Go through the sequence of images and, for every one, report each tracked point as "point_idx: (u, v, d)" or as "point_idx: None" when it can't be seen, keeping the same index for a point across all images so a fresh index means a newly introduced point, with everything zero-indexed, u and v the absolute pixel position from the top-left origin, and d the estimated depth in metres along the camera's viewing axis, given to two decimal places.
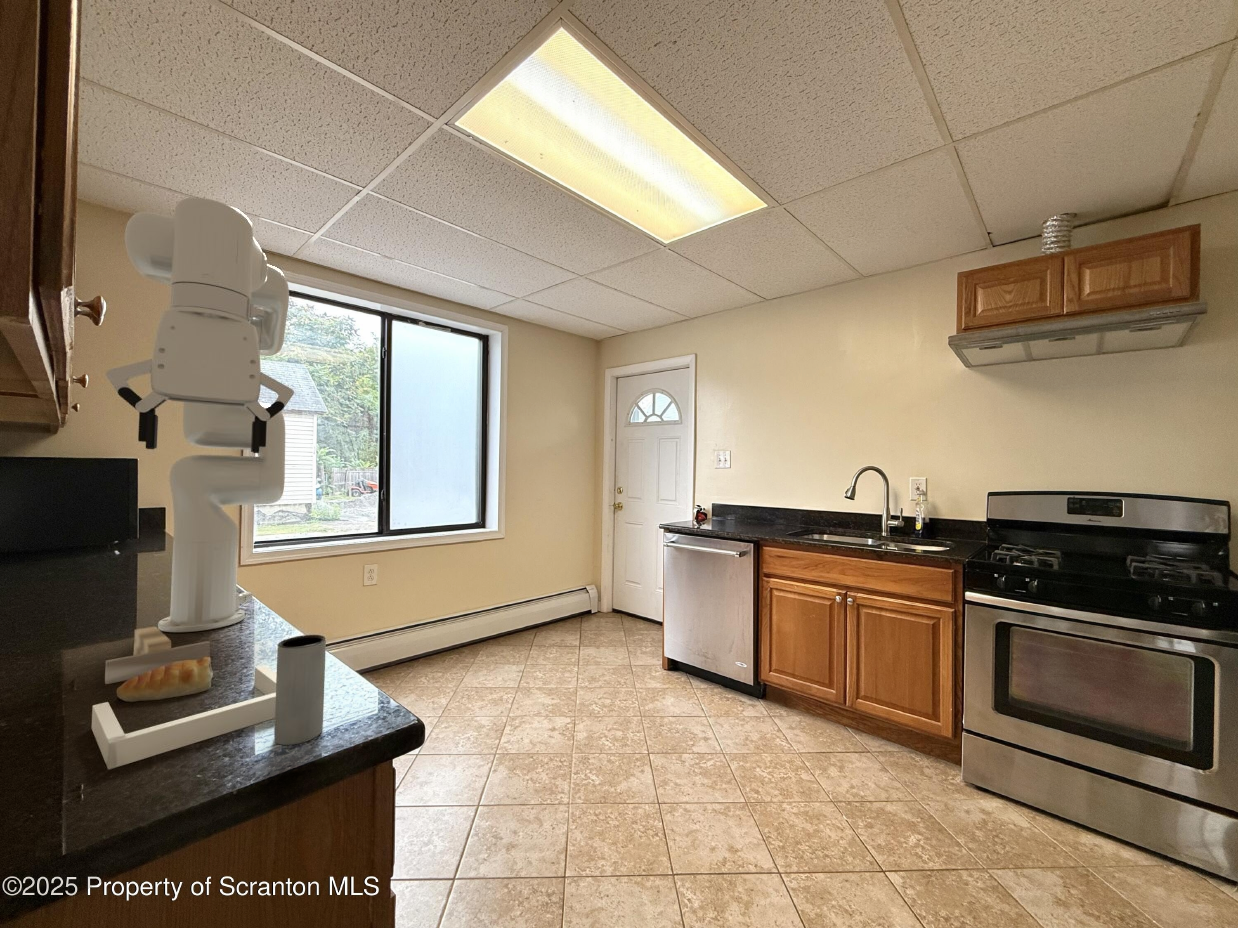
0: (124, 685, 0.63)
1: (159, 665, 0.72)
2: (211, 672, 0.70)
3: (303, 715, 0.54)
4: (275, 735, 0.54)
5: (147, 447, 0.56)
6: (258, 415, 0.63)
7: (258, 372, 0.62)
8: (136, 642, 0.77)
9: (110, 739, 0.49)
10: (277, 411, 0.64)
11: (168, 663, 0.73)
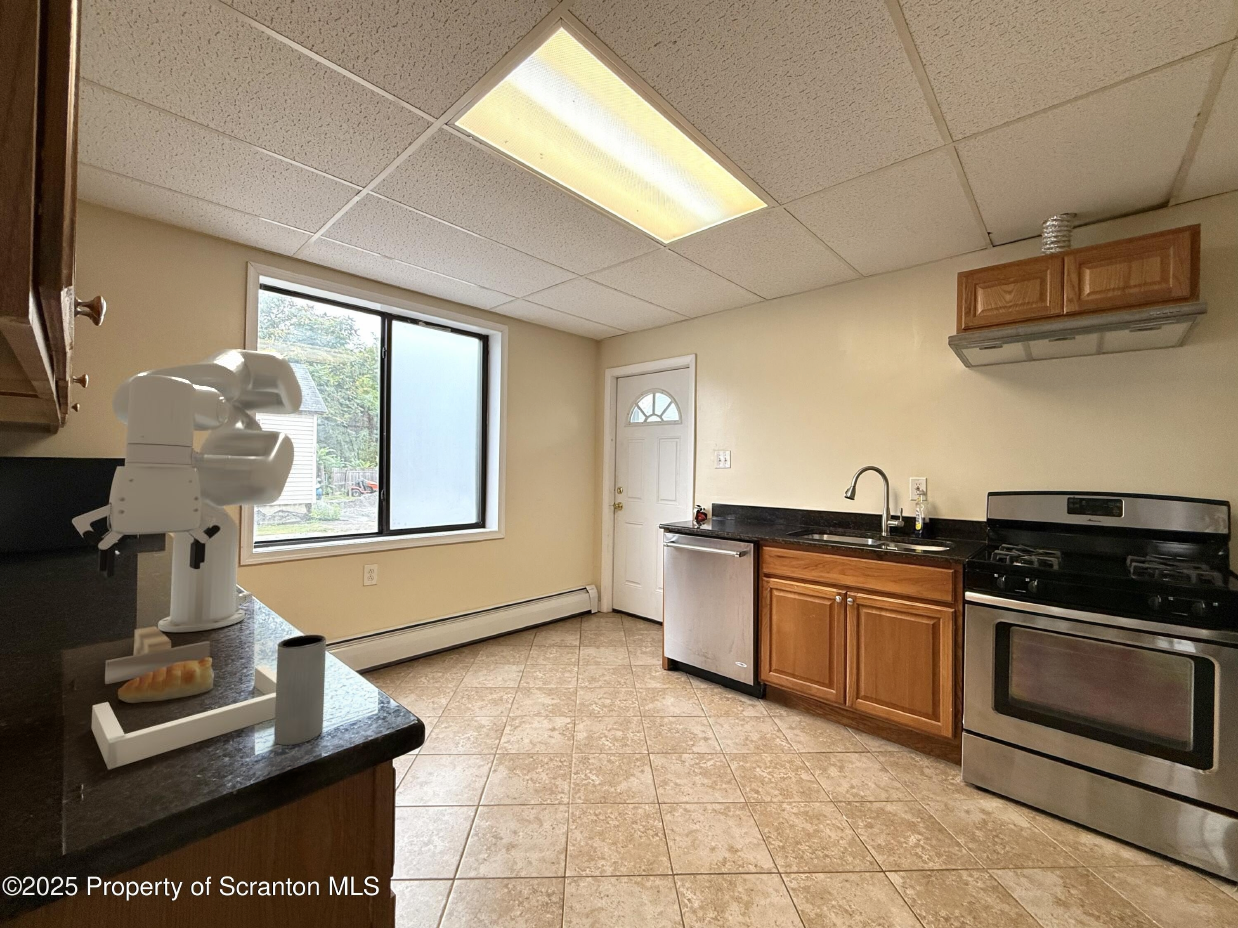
0: (125, 686, 0.62)
1: (159, 665, 0.72)
2: (212, 673, 0.70)
3: (303, 715, 0.54)
4: (275, 735, 0.54)
5: (108, 576, 0.71)
6: (199, 539, 0.79)
7: (200, 505, 0.79)
8: (136, 642, 0.77)
9: (110, 739, 0.49)
10: (214, 533, 0.81)
11: (168, 663, 0.73)
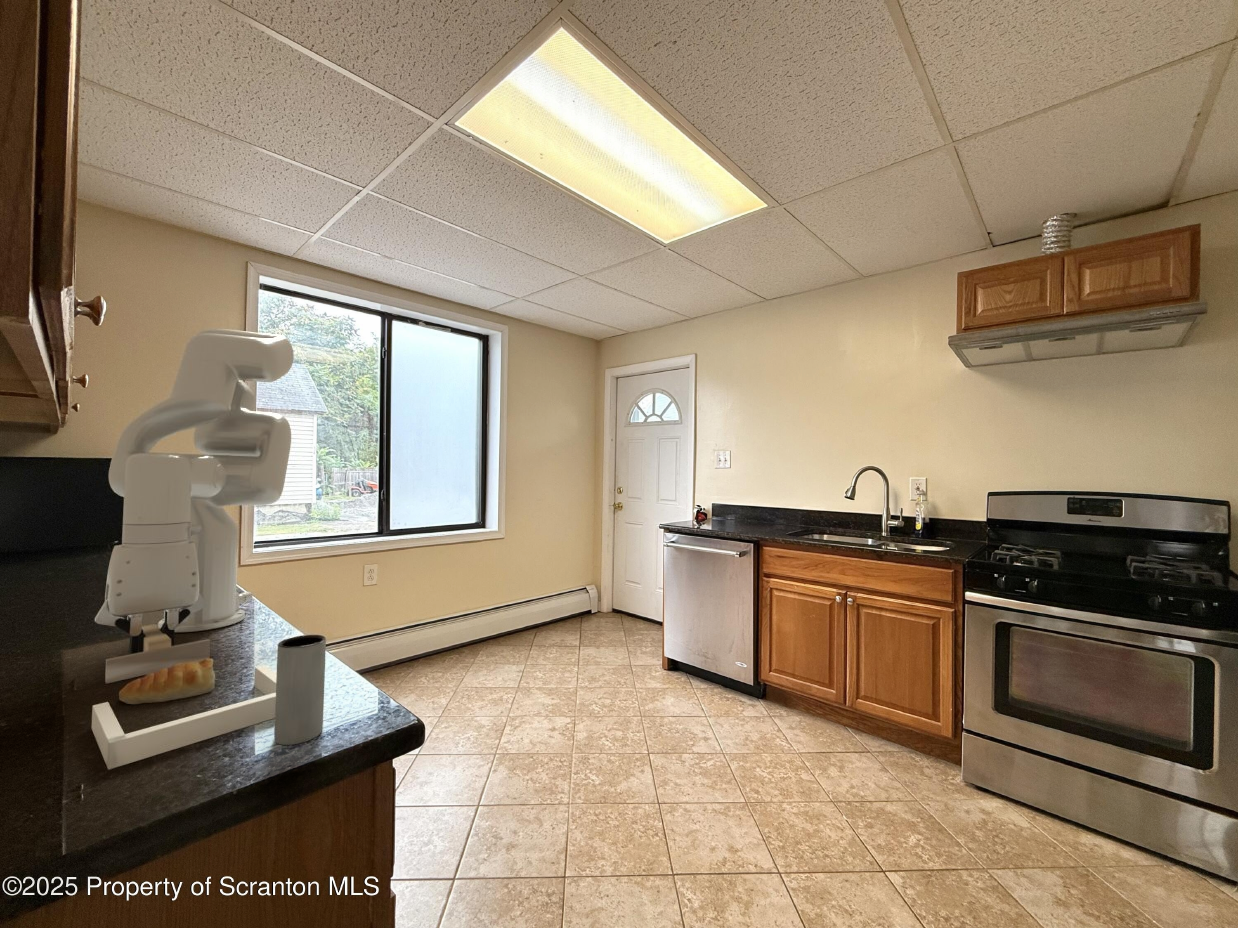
0: (127, 688, 0.62)
1: (159, 663, 0.72)
2: None
3: (303, 715, 0.54)
4: (275, 735, 0.54)
5: None
6: (169, 623, 0.77)
7: (198, 580, 0.79)
8: None
9: (110, 739, 0.49)
10: (184, 618, 0.78)
11: (168, 661, 0.73)
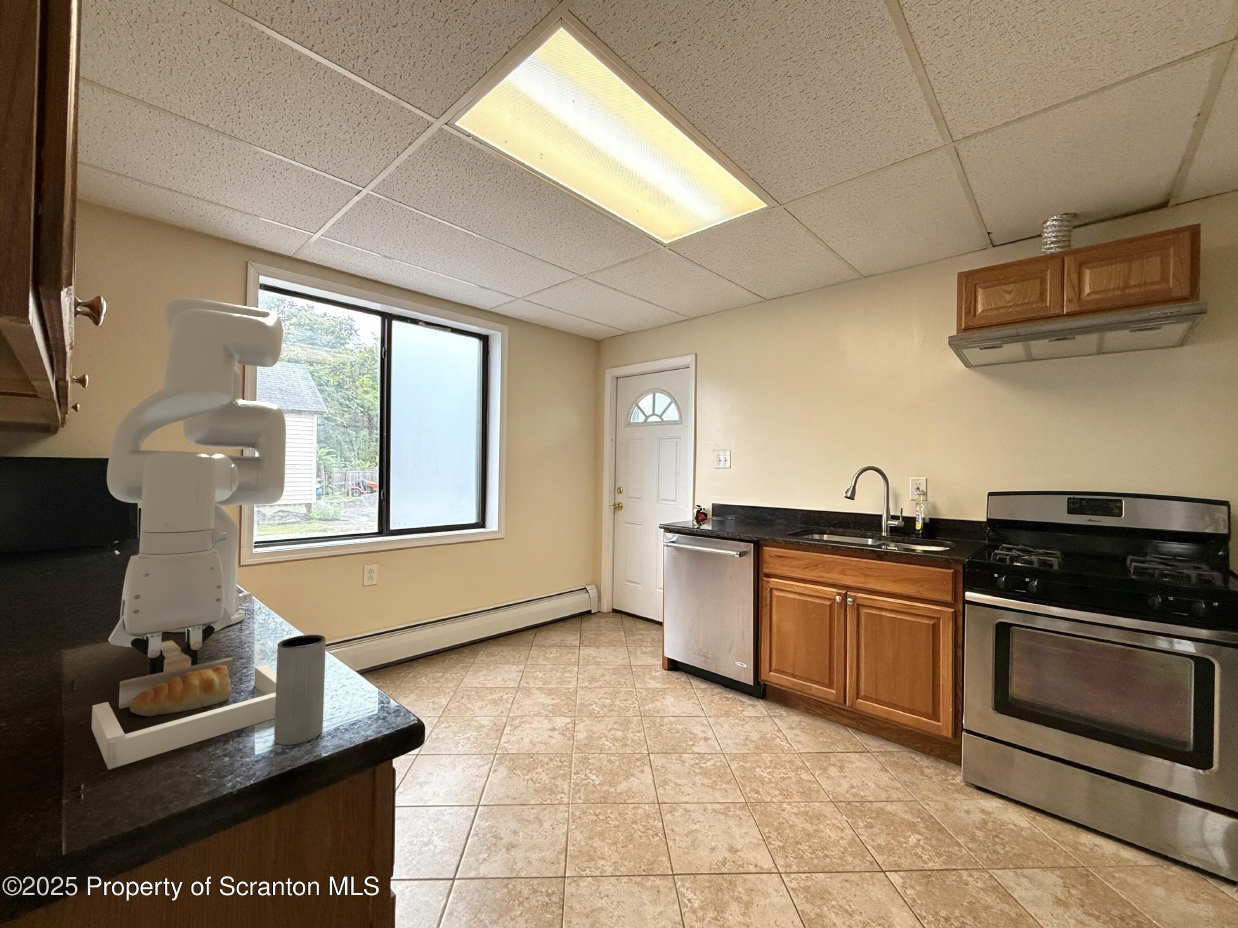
0: (139, 699, 0.59)
1: None
2: None
3: (303, 715, 0.54)
4: (275, 735, 0.54)
5: None
6: (192, 643, 0.68)
7: (223, 593, 0.71)
8: None
9: (110, 739, 0.49)
10: (208, 636, 0.70)
11: None
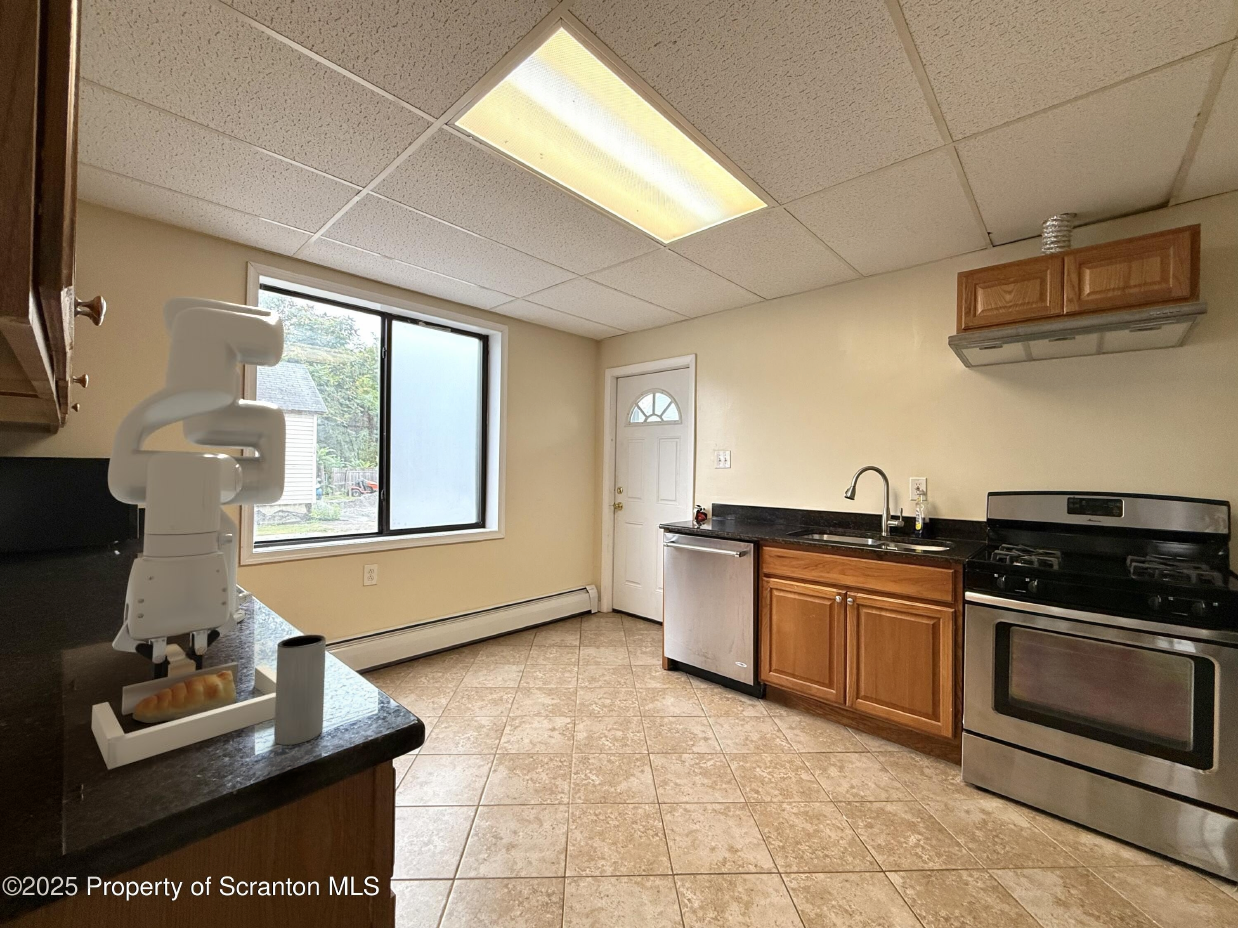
0: (142, 705, 0.58)
1: None
2: None
3: (303, 715, 0.54)
4: (275, 735, 0.54)
5: None
6: (196, 647, 0.67)
7: (228, 597, 0.69)
8: None
9: (110, 739, 0.49)
10: (213, 640, 0.68)
11: None
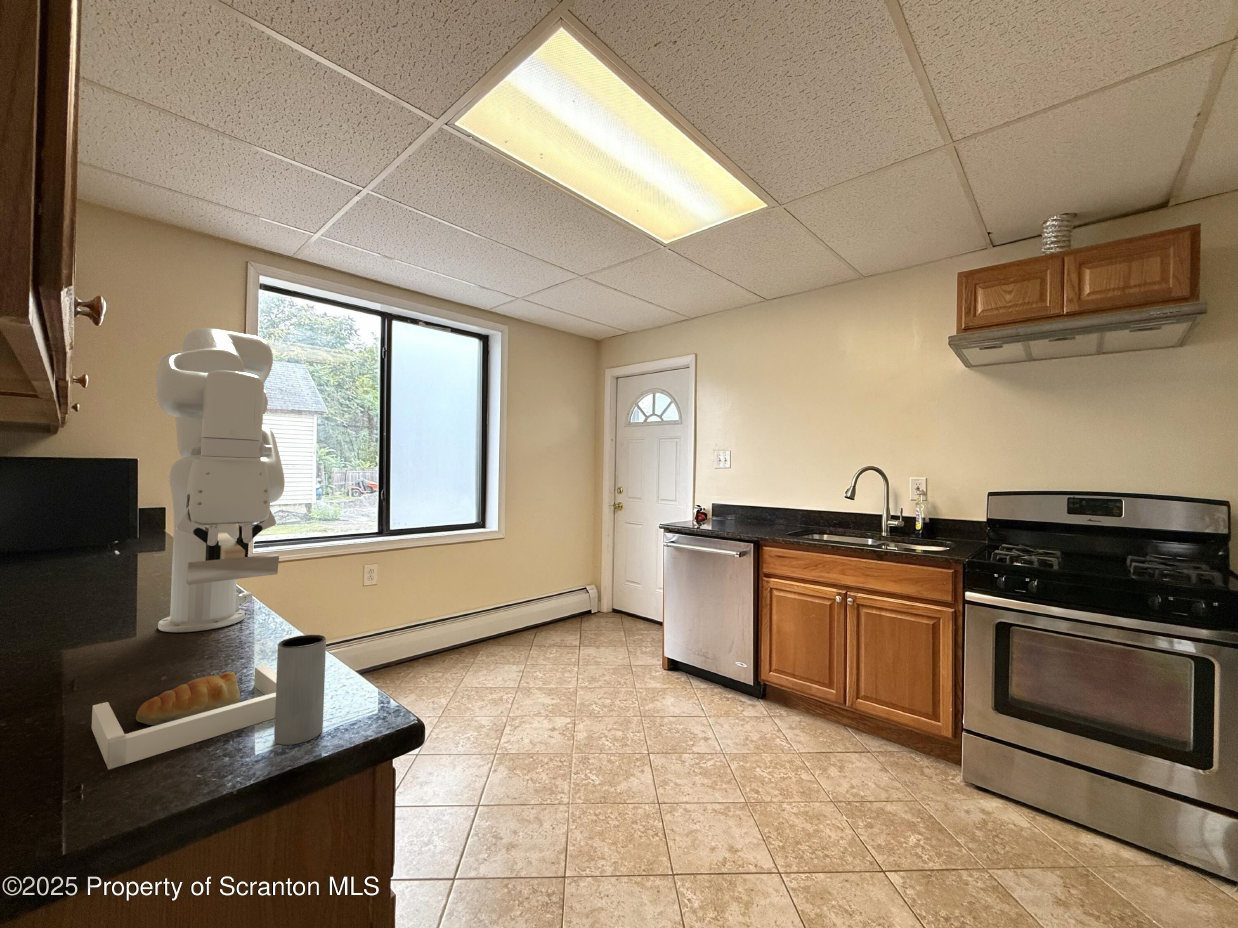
0: (146, 707, 0.57)
1: (234, 572, 0.76)
2: None
3: (303, 715, 0.54)
4: (275, 735, 0.54)
5: None
6: (244, 537, 0.80)
7: (269, 497, 0.82)
8: None
9: (110, 739, 0.49)
10: (257, 533, 0.81)
11: (242, 571, 0.77)
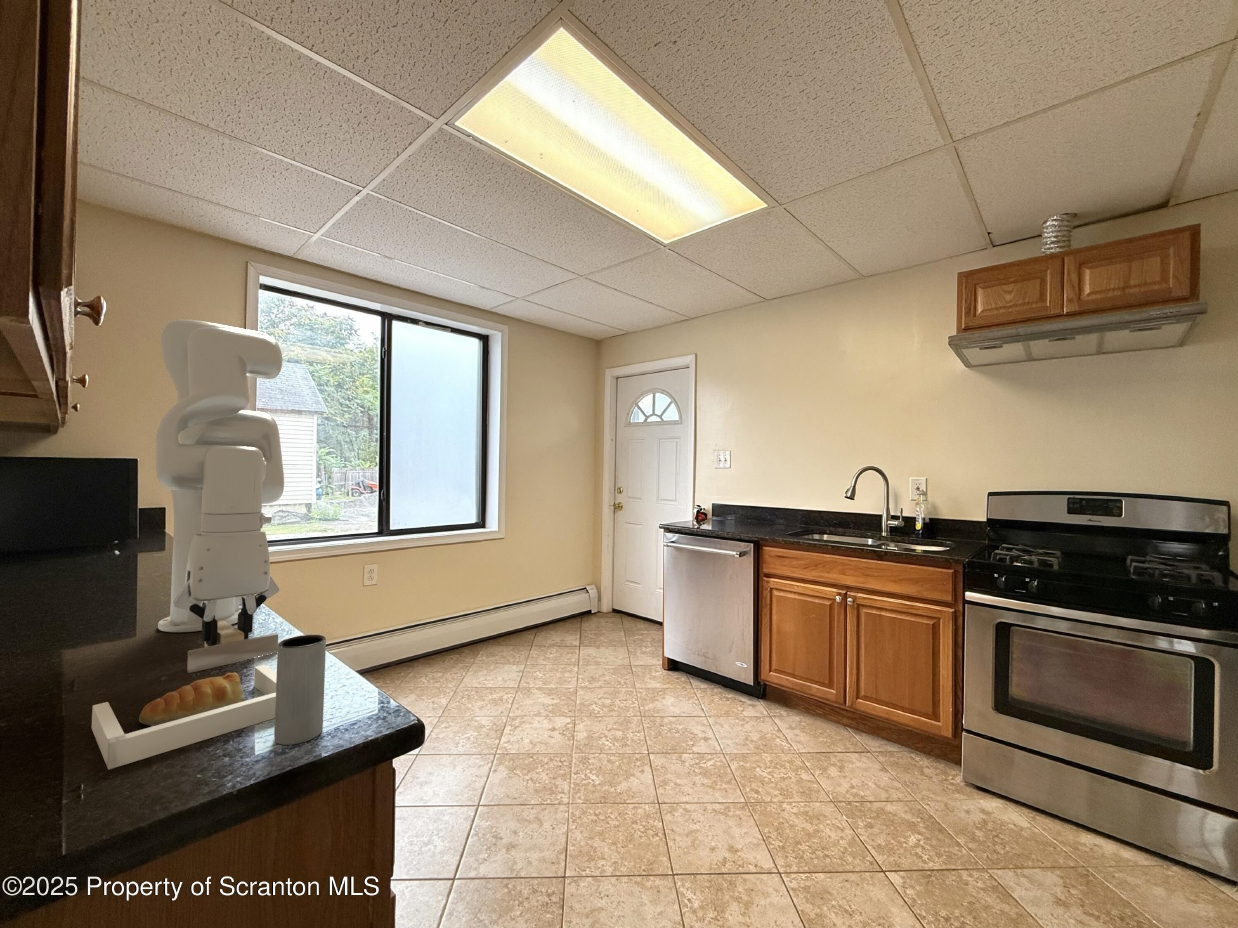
0: (150, 709, 0.57)
1: (234, 655, 0.76)
2: None
3: (303, 715, 0.54)
4: (275, 735, 0.54)
5: None
6: (248, 608, 0.80)
7: (269, 568, 0.82)
8: None
9: (110, 739, 0.49)
10: (261, 603, 0.82)
11: (242, 653, 0.77)
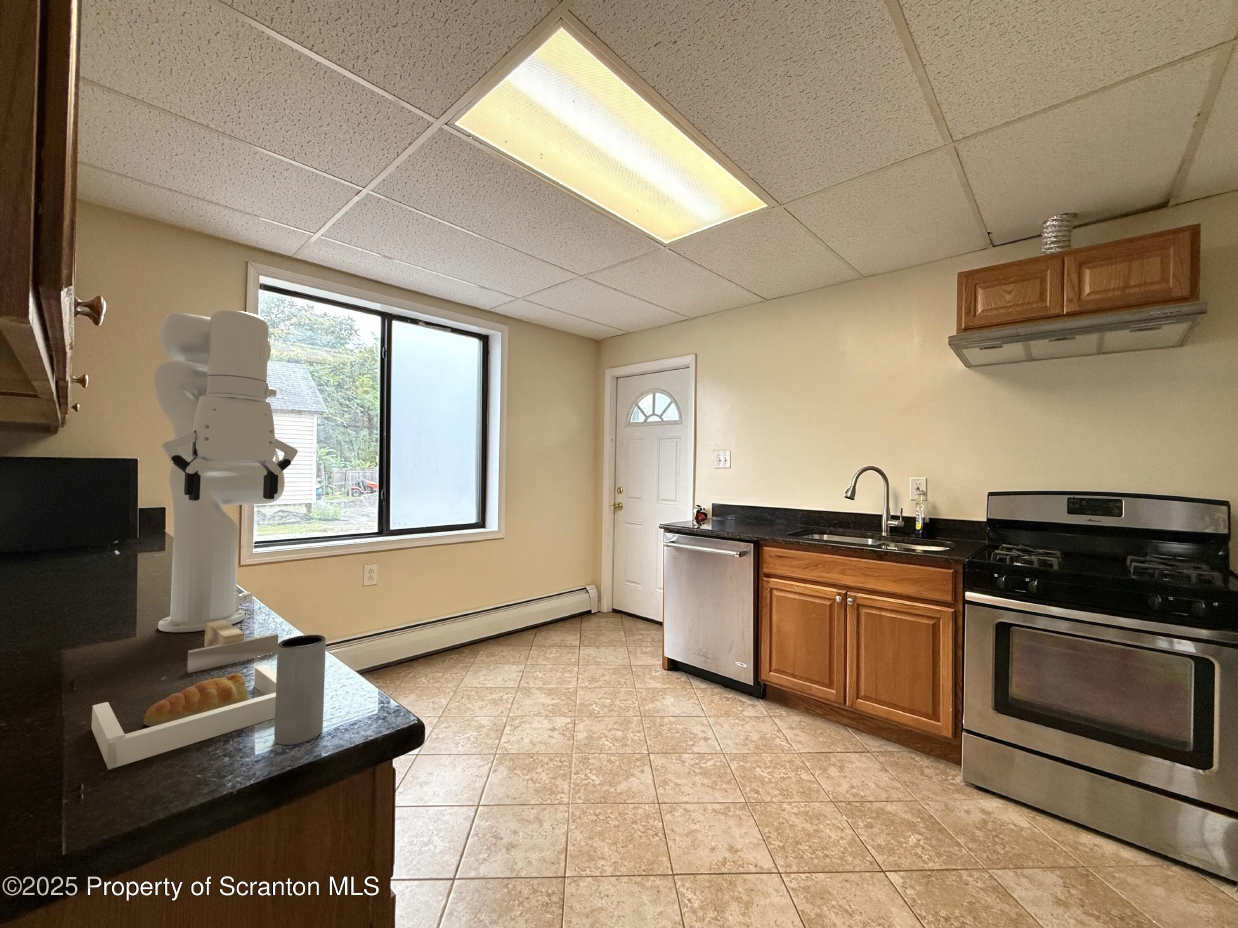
0: (155, 711, 0.56)
1: (234, 655, 0.76)
2: None
3: (303, 715, 0.54)
4: (275, 735, 0.54)
5: (194, 499, 0.75)
6: (273, 471, 0.83)
7: (274, 438, 0.83)
8: (208, 634, 0.82)
9: (110, 739, 0.49)
10: (286, 466, 0.85)
11: (242, 654, 0.77)
